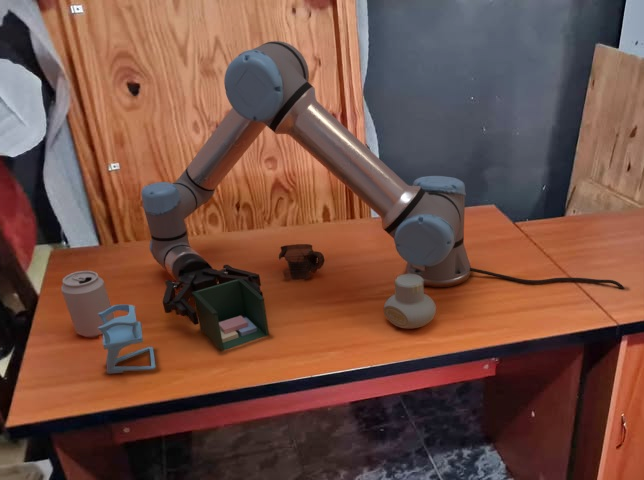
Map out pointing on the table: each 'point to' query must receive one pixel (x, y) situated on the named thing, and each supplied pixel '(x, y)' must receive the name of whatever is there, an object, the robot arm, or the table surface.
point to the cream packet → (229, 336)
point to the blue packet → (247, 328)
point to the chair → (122, 338)
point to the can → (86, 301)
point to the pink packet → (233, 324)
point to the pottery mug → (301, 260)
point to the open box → (230, 311)
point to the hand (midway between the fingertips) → (229, 308)
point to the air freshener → (409, 303)
